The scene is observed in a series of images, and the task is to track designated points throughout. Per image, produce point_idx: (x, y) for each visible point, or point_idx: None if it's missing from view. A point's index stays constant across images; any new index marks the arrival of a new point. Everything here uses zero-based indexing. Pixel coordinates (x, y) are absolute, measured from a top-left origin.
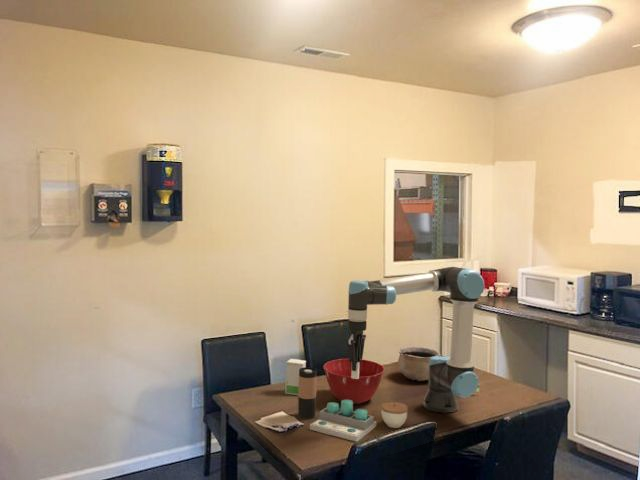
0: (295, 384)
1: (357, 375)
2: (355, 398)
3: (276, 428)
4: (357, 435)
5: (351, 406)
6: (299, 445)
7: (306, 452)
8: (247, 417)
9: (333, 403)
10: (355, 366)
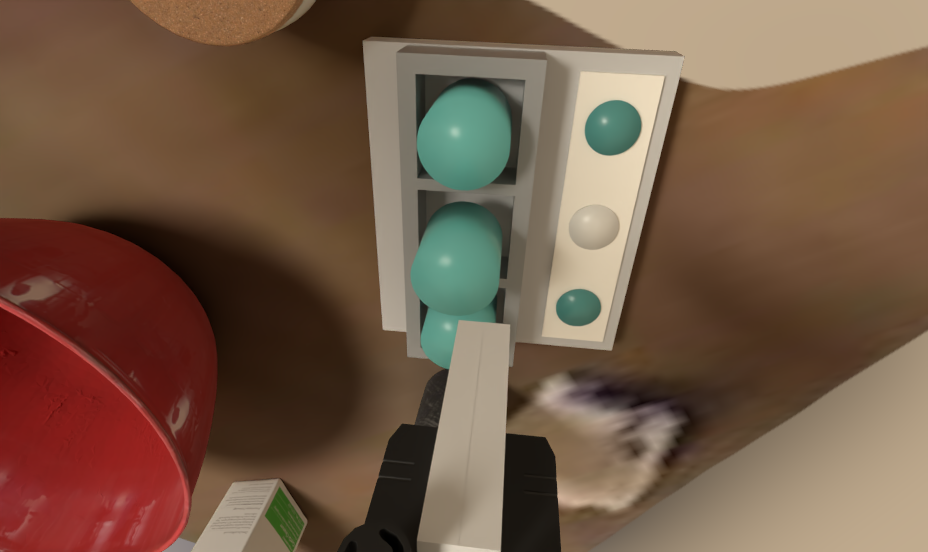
0: (271, 537)
1: (508, 360)
2: (176, 285)
3: (656, 438)
4: (662, 63)
5: (467, 229)
6: (820, 305)
7: (907, 246)
8: (596, 537)
9: (440, 345)
10: (543, 511)
